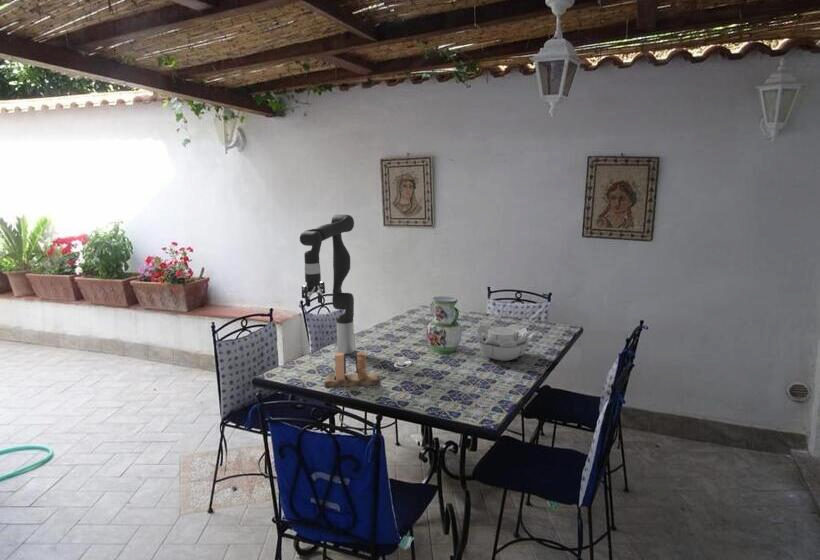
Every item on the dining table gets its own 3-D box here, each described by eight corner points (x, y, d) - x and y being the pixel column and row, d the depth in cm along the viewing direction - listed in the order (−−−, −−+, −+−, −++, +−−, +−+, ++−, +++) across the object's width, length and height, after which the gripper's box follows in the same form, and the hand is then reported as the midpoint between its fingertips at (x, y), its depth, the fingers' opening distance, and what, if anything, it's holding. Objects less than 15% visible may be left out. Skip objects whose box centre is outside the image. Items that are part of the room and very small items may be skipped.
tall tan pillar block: (336, 384, 240) (334, 355, 238) (336, 381, 244) (335, 353, 242) (346, 384, 241) (344, 355, 238) (346, 381, 245) (345, 352, 242)
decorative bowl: (540, 354, 278) (541, 327, 275) (519, 371, 254) (520, 341, 251) (488, 345, 295) (489, 319, 292) (464, 360, 270) (464, 332, 268)
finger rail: (325, 386, 238) (323, 357, 236) (326, 380, 246) (325, 352, 244) (377, 384, 240) (376, 355, 237) (377, 378, 247) (376, 350, 245)
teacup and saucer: (412, 363, 268) (412, 356, 267) (408, 369, 261) (408, 361, 260) (396, 362, 270) (396, 355, 270) (391, 367, 263) (391, 360, 262)
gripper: (308, 275, 245) (310, 308, 248) (328, 270, 257) (329, 302, 260) (296, 273, 249) (298, 306, 252) (316, 269, 261) (318, 300, 264)
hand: (314, 304), depth 256 cm, fingers open, 8 cm apart
